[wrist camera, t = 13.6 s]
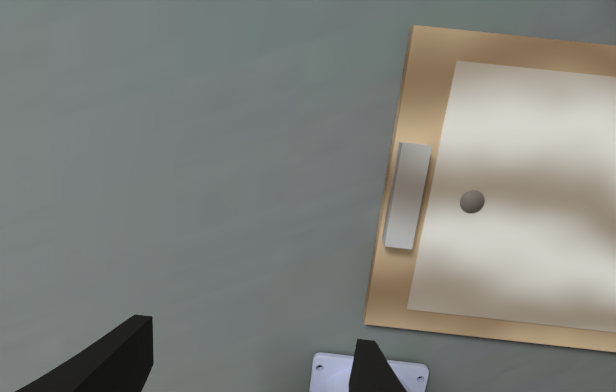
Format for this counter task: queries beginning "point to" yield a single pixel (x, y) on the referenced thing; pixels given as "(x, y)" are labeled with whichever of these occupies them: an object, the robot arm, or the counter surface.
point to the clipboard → (500, 192)
